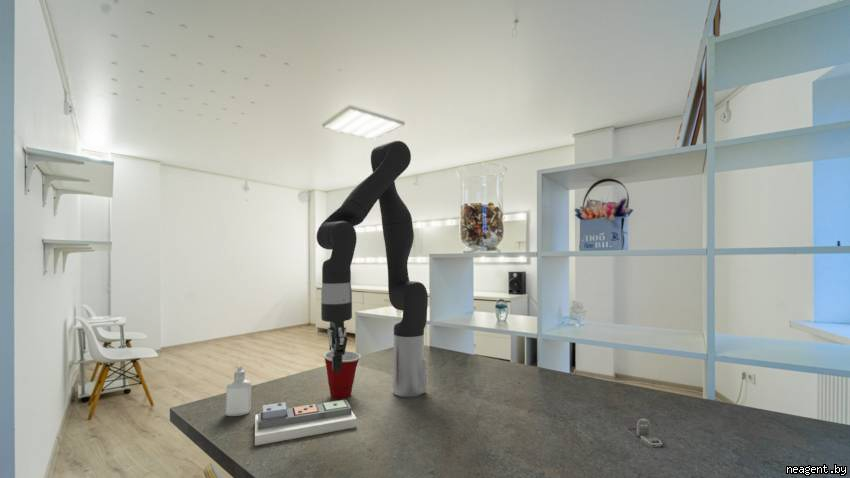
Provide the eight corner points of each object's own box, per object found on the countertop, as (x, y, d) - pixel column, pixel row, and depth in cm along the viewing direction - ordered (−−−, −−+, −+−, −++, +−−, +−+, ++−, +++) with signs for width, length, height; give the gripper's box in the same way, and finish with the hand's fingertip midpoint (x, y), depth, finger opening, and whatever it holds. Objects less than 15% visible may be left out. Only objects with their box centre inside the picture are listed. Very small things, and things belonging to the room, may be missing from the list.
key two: (285, 408, 90) (285, 401, 90) (286, 415, 86) (286, 408, 86) (262, 411, 88) (262, 404, 88) (262, 419, 84) (262, 411, 84)
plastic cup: (355, 403, 103) (356, 359, 104) (317, 402, 104) (318, 358, 104) (363, 389, 114) (364, 349, 115) (329, 389, 114) (329, 349, 115)
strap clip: (664, 447, 80) (663, 427, 80) (651, 448, 79) (650, 427, 80) (637, 429, 88) (637, 411, 88) (625, 430, 88) (625, 411, 88)
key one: (343, 406, 95) (343, 399, 95) (346, 412, 91) (347, 405, 91) (323, 409, 93) (323, 402, 93) (326, 416, 89) (326, 408, 89)
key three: (315, 410, 92) (315, 403, 92) (317, 417, 88) (317, 410, 88) (293, 413, 90) (293, 406, 90) (295, 421, 86) (295, 413, 86)
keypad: (345, 408, 99) (345, 395, 99) (356, 427, 88) (356, 411, 88) (255, 423, 90) (255, 408, 90) (254, 445, 79) (255, 428, 79)
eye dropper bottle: (241, 418, 93) (243, 369, 94) (222, 415, 94) (224, 367, 95) (253, 411, 97) (254, 364, 98) (234, 409, 99) (236, 363, 99)
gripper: (358, 302, 89) (358, 375, 88) (345, 297, 101) (346, 361, 100) (326, 304, 86) (326, 380, 85) (317, 299, 98) (317, 365, 97)
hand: (337, 370), depth 93 cm, fingers closed
